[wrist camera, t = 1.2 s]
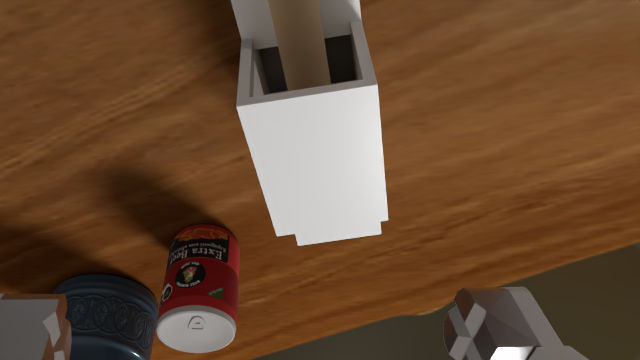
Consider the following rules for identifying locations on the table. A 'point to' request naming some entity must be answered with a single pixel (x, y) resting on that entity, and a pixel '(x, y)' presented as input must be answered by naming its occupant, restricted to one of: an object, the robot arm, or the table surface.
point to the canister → (109, 317)
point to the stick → (300, 43)
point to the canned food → (200, 290)
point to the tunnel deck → (314, 128)
